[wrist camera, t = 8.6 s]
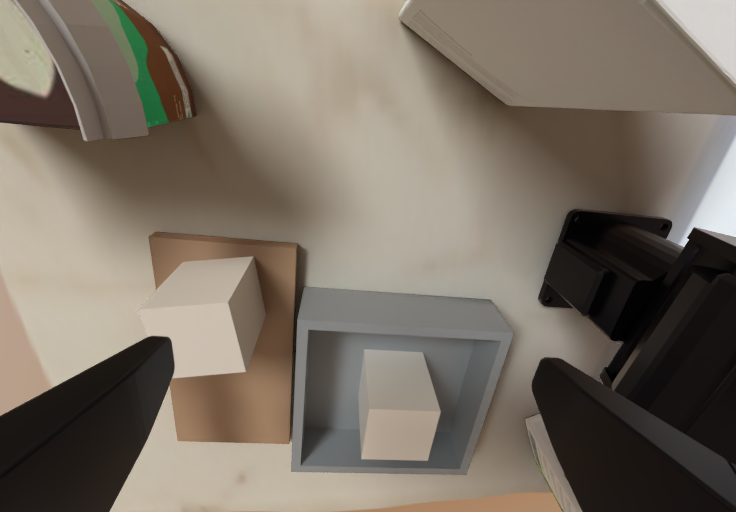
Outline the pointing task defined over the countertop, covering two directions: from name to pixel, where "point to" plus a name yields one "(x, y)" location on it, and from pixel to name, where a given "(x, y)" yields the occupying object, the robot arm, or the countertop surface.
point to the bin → (392, 333)
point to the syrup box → (550, 465)
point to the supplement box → (590, 51)
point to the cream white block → (208, 315)
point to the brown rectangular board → (268, 361)
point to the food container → (88, 69)
